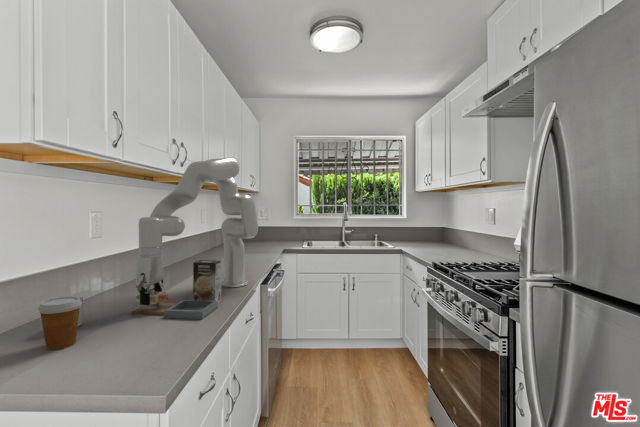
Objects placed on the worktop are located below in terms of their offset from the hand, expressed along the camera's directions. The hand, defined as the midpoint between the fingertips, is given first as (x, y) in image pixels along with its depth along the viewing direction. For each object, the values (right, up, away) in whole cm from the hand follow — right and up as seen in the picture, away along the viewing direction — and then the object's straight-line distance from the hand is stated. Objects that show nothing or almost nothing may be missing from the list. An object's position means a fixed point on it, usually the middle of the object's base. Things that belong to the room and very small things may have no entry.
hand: (151, 301), depth 126 cm
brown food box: (+17, -3, +10) cm, 20 cm away
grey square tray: (+15, -3, -2) cm, 16 cm away
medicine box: (-16, -4, -18) cm, 25 cm away
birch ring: (0, 0, 0) cm, 0 cm away
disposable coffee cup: (-10, -4, -31) cm, 32 cm away
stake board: (+2, -3, +2) cm, 4 cm away
